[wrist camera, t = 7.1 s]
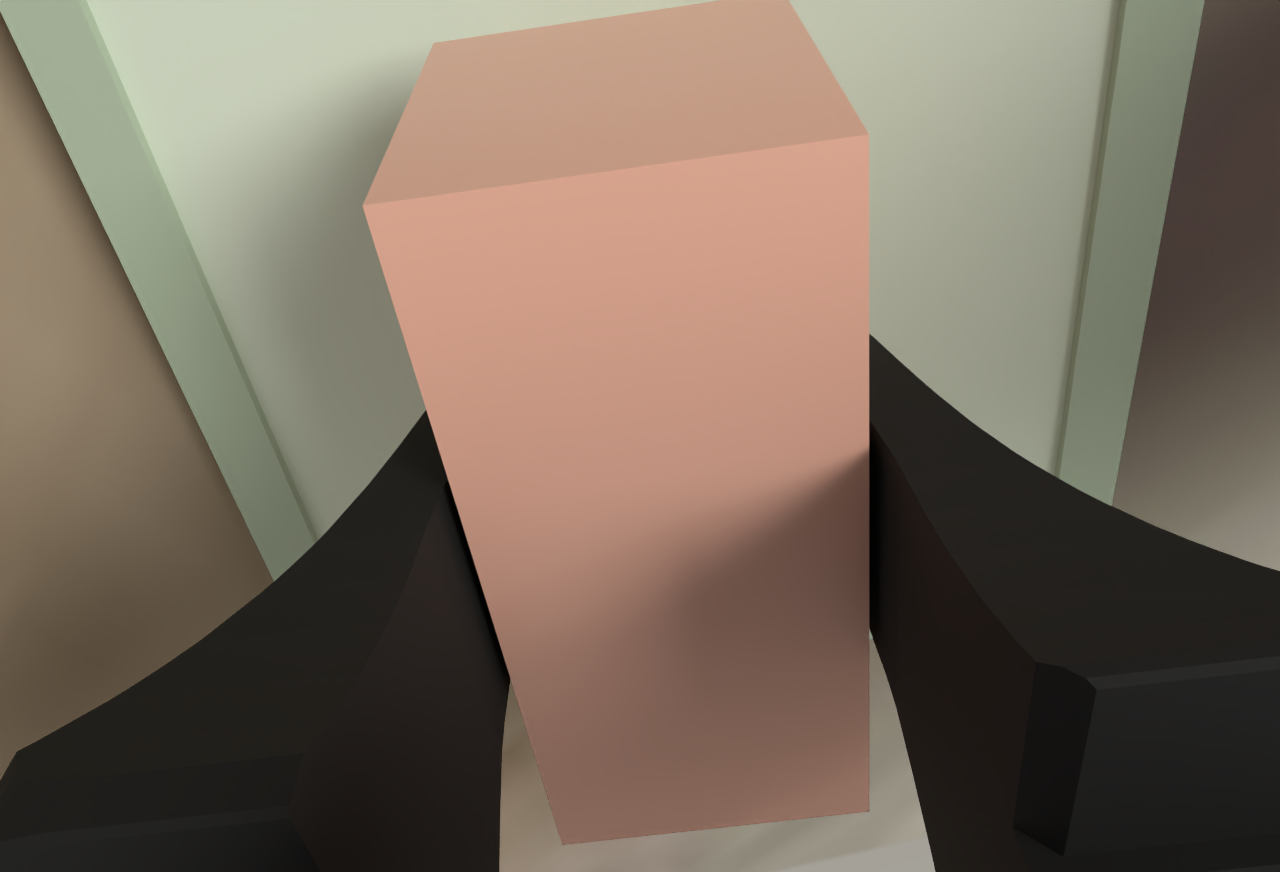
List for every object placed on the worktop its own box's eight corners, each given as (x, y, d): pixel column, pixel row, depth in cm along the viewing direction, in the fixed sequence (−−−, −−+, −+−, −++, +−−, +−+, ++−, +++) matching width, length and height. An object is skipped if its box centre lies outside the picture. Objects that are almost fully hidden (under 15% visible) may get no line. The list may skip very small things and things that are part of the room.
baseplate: (1254, -479, 11) (1294, -487, 10) (1076, 584, 21) (1092, 613, 20) (-86, -254, 12) (-125, -250, 11) (339, 670, 21) (331, 701, 21)
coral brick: (782, -9, 12) (868, 134, 8) (810, 567, 17) (869, 811, 13) (433, 42, 12) (361, 205, 8) (569, 597, 17) (562, 844, 13)
